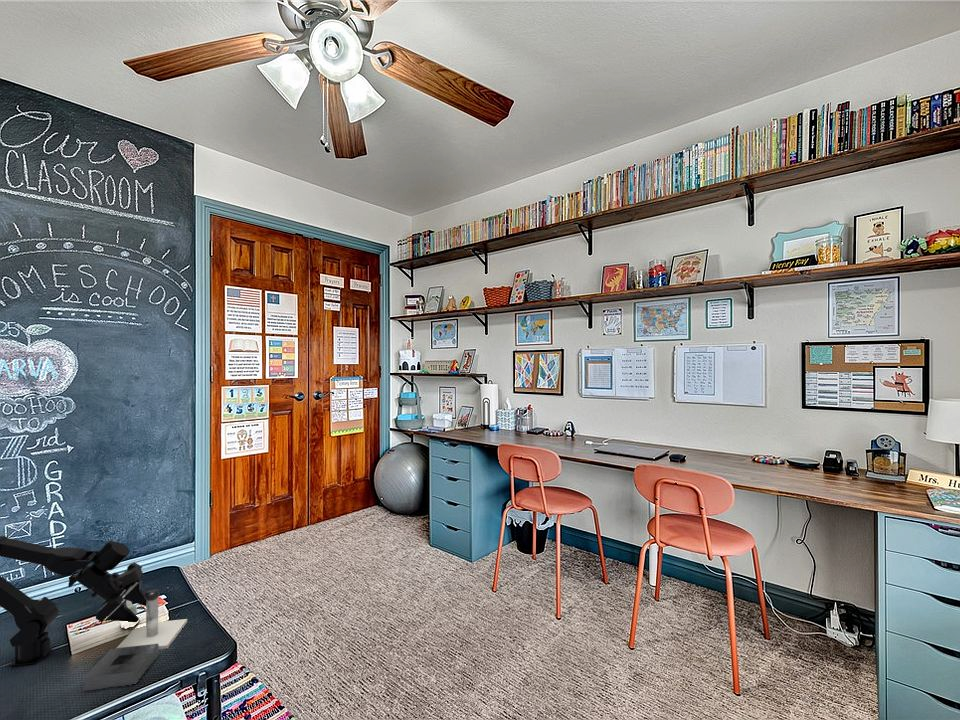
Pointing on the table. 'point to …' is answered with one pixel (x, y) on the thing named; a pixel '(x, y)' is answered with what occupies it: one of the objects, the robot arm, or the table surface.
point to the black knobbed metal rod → (152, 612)
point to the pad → (163, 638)
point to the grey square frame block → (121, 667)
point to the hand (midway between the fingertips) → (143, 612)
